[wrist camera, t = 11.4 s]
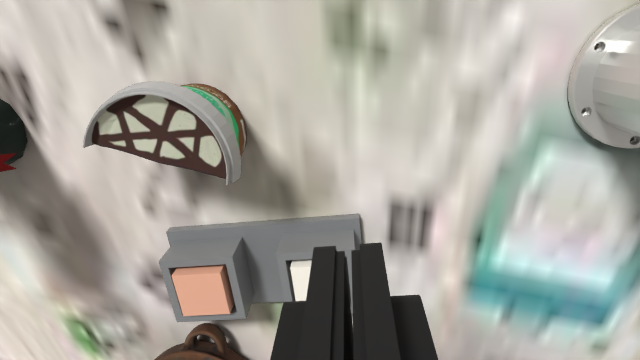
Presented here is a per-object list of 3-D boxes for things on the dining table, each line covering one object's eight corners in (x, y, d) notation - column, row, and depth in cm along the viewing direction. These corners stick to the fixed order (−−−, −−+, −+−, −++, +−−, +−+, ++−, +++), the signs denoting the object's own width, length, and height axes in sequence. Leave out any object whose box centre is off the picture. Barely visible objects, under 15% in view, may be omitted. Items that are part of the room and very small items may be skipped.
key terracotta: (228, 256, 41) (220, 272, 38) (237, 295, 43) (229, 313, 40) (183, 259, 41) (171, 275, 39) (193, 297, 43) (183, 316, 40)
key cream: (342, 248, 40) (341, 264, 37) (346, 288, 42) (346, 307, 39) (294, 251, 40) (290, 267, 38) (300, 291, 42) (297, 309, 39)
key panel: (358, 213, 41) (360, 237, 36) (365, 291, 45) (367, 322, 40) (170, 227, 43) (148, 251, 39) (190, 301, 47) (173, 331, 42)
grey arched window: (272, 90, 37) (248, 111, 28) (260, 149, 39) (233, 187, 30) (146, 55, 37) (77, 64, 27) (140, 117, 39) (75, 145, 30)
